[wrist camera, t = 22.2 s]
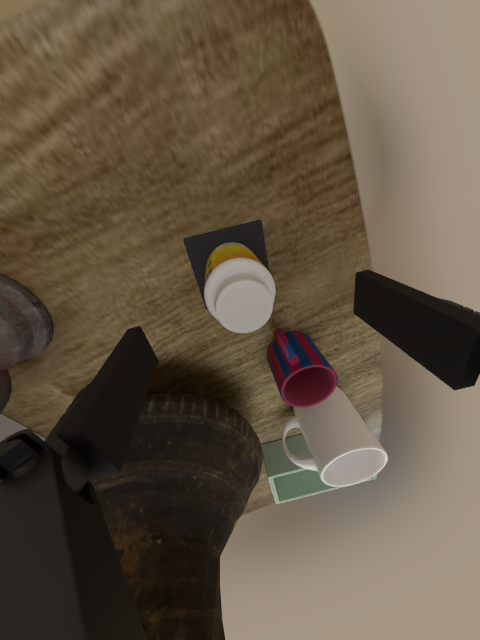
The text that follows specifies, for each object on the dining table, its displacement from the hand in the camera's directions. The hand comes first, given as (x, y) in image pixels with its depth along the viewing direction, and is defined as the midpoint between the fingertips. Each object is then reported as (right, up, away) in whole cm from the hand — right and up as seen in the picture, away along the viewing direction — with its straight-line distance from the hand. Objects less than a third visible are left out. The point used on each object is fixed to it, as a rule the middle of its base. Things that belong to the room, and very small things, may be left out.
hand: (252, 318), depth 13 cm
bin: (+14, -25, +30) cm, 41 cm away
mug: (+11, -14, +23) cm, 29 cm away
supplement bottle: (-2, +6, +10) cm, 12 cm away
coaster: (-2, +6, +10) cm, 12 cm away
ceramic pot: (-11, -15, +21) cm, 28 cm away
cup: (+6, -3, +17) cm, 18 cm away
